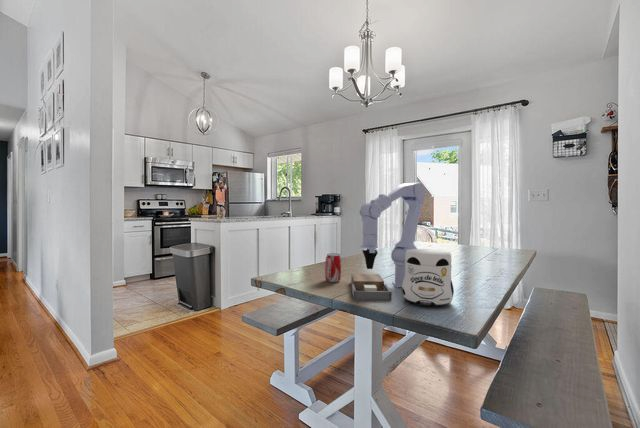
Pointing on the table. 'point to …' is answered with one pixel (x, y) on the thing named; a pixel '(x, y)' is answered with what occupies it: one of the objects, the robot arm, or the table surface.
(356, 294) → the tray
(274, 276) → the table surface
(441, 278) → the milk container
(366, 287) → the cream tile
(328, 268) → the soda can
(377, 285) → the brown block
